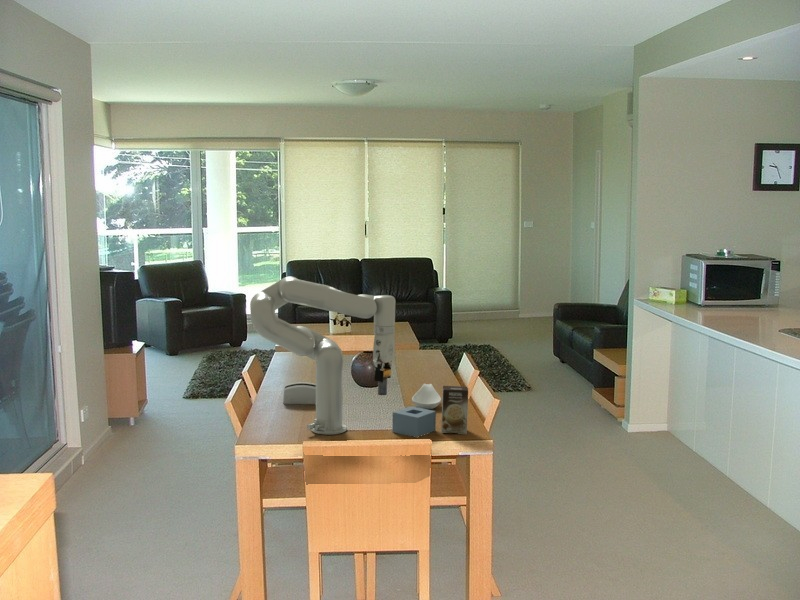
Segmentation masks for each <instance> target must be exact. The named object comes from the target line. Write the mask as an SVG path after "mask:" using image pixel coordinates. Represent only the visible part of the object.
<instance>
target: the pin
mask: <svg viewBox="0 0 800 600" xmlns="http://www.w3.org/2000/svg"><path fill="white" fill-rule="evenodd" d="M383 371H384V376H383V382H379V381H377V395H378V396H387V394H388V393H387V392H388V378H387V377H390V376H391V377H392V368H391V369H387V368H383Z"/></svg>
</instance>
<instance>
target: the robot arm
mask: <svg viewBox="0 0 800 600" xmlns="http://www.w3.org/2000/svg"><path fill="white" fill-rule="evenodd" d="M250 299H251V300H250V305H249V306H250V307H249V309H250V319H251V324H252V326H253V328H254V330H255V331H256V332H257V333H258V335H260V336H261V337H262V338H264V339H265V340H267V341H270V342H271V343H274V344H275V345H277V346H279V347H280V348H282V349H285V350H286V351H289V352H291V353H293V354H294V355H296V356H299V357H307V358H309V359H312V360H314V361H315V384H316V404H315V418H314V419H313V422H312V423H309V424H307V425H306V429H307V430H308V431H310V430H311V431H312V433H315V434H318V435H325V436H327V435H329V436H330V435H331V436H332V435H339V434H342V433H345V432H346V431H347V430H348V426H347V425H346V424H344V423H343V371H344V353H343V350H342V349H341V347H340V346H339V344H337V342H336V341H335V340H334V339H332V338H330V337H327V336H325V335H323V334H321V333H319V332H317V331H315V330H313V329H311V328H309V327H308V326H307V327H306V326H302V325H297V326H295V325H293V324H291V323H289V322H287V321H286V320H284V319H281V318H280V317H278V316H277V314H276V311H277V310H278V309H280V308H281V307H284V306H285V305H286V304H288V303H290V304H295V305H296V304H297V305H300V306H307V307H311V308H315V309H320V310H324V311H327V312H328V311H329V312H333V313H338V314H342V315H345V316H350V317H353V318H354V317H356V318H359V319H370V318H372V317H373V335H374V337H373V347H372V348H373V349H372V364H373V366H374V381H375V382H378V381H379V382H383V376H384V371H383V368H387V369H391V370H392V361H394V359H396V343H395V342H396V340H395V333H396V331H395V329H396V328H395V326H396V298H395V297H394V296H393V295H389V294H381V295H380V294H379V295H371V294H366V293H365V294H364V293H362V294H354V293H349V292H346V291H342V290H339V289H338V288H335V287H333V286H330V285H326V284H323V283H317V282H313V281H307V280H302V279H298V278H297V277H295V276H289V275H288V276H285V277H283V278H281V279H279V280H278V281H276V282H274V283H273V284H271V285H269V286H268V287H266V288H265V289H262V290H261V291H259V292H257V293H256V294H255V295H253V296H252V298H250ZM390 378H392V375H391V376H390V377H387V379H390Z"/></svg>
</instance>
